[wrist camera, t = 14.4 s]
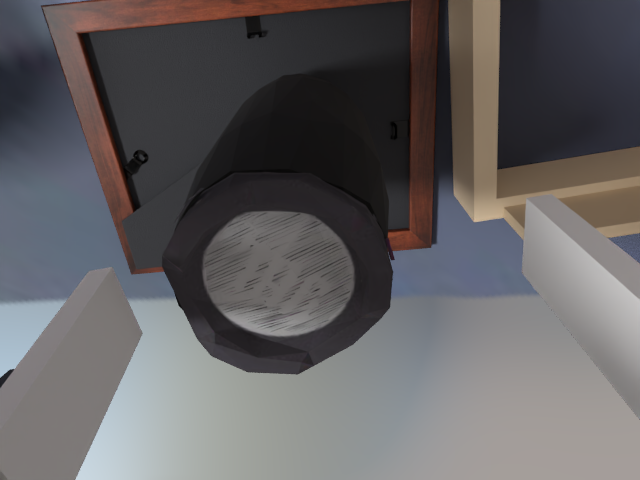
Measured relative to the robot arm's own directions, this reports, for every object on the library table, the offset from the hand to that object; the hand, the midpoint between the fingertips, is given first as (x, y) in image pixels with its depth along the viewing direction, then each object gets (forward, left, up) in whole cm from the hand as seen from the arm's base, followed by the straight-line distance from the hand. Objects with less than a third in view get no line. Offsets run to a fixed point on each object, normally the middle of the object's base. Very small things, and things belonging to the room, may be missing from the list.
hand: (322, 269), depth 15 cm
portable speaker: (-1, 0, -20) cm, 20 cm away
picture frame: (-4, -1, -22) cm, 22 cm away
